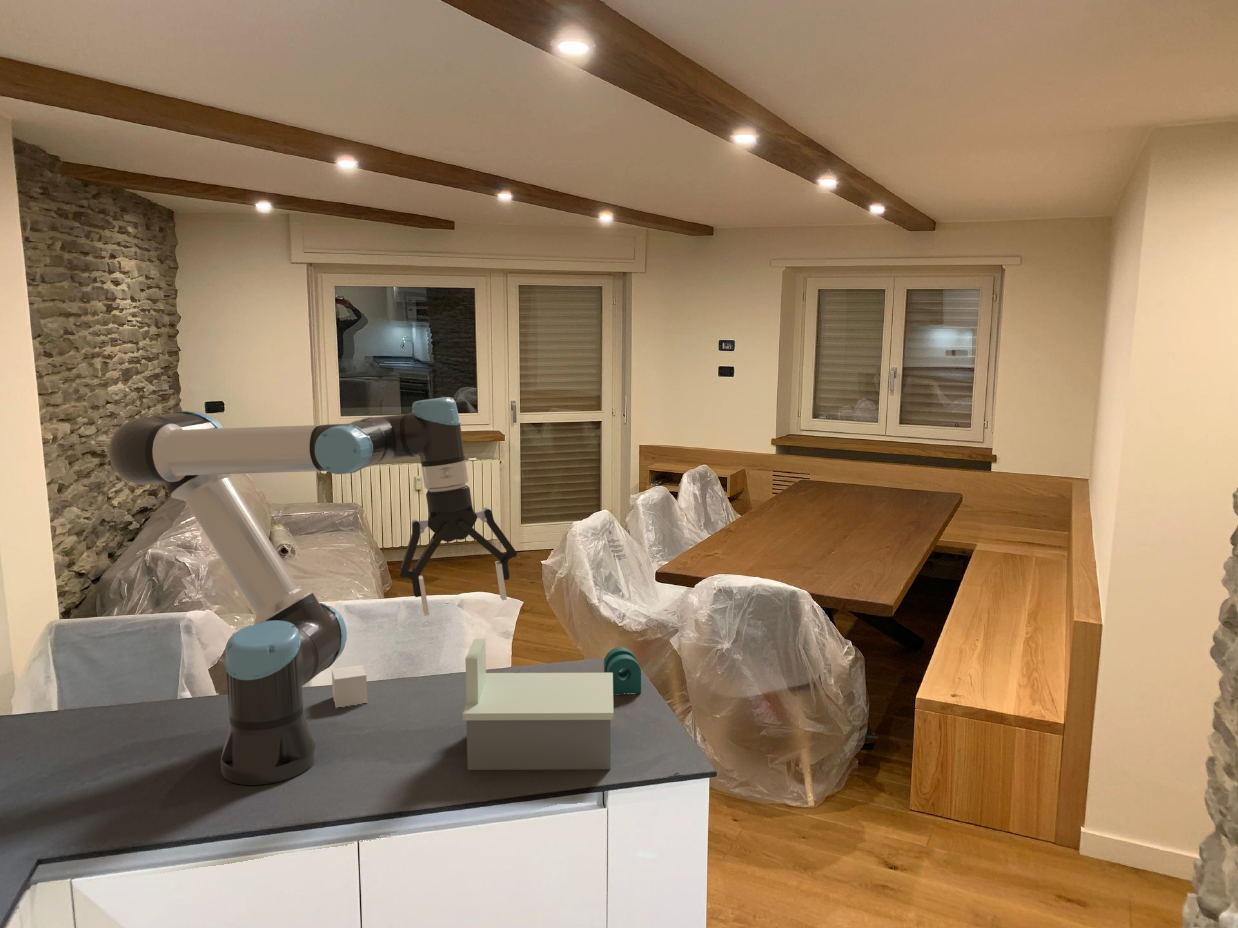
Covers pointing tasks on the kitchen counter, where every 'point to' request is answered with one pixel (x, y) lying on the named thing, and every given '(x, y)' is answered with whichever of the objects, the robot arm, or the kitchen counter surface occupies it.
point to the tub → (538, 744)
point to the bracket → (623, 671)
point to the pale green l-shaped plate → (534, 693)
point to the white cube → (349, 686)
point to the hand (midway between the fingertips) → (465, 606)
